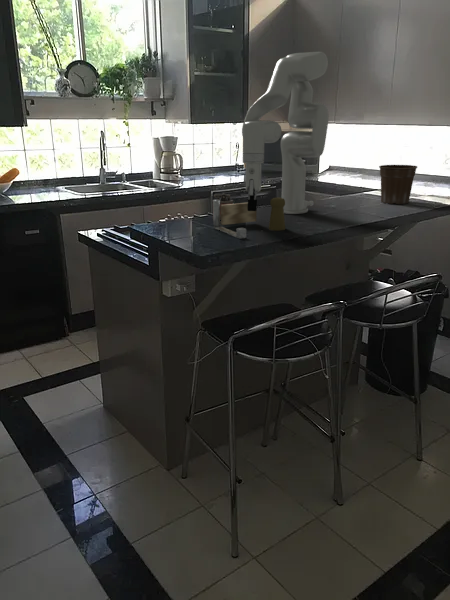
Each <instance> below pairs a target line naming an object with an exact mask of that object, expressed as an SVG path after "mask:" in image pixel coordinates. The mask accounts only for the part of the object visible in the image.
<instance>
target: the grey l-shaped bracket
mask: <svg viewBox="0 0 450 600" xmlns="http://www.w3.org/2000/svg"><path fill="white" fill-rule="evenodd" d="M212 200H213V203H212V221H213V229H214V230H217V231H219V230H220V232H222V233H224V234H227V235H229V236H232V237H235V238H236V239H247V228H244V227H238V228H236V229H235V230H236V231H234V230H231V229H228V228H226V227H223V226H222V225H221V221H220V200H221V199H219V200H217V199H212Z"/></svg>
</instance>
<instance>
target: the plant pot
mask: <svg viewBox="0 0 450 600" xmlns="http://www.w3.org/2000/svg"><path fill="white" fill-rule="evenodd" d="M378 167H379V174H380V202H381V203H382V202H383V204H386V203H389V204H388V205H393V204H396V205H406V204H409V203H410V198H411V192H412V187H413V183H414V178H415V175H416V172H417V169H418V165H411V164H382V165H379V166H378Z"/></svg>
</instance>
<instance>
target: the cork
mask: <svg viewBox="0 0 450 600" xmlns="http://www.w3.org/2000/svg"><path fill="white" fill-rule="evenodd" d="M269 202H270V207H271V210H270V217H269V223H268V230H270V231H275V232H276V231H279V232H281V231H285V230H286V222H285V213H284V209H283V207H284V206H285V200H284V199H283V198H282V197H279V196H278V197H273V198H271V199H270V201H269Z"/></svg>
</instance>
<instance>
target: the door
mask: <svg viewBox="0 0 450 600" xmlns="http://www.w3.org/2000/svg"><path fill="white" fill-rule="evenodd" d="M257 211H258V210H256V211H248V201H247V202H240V203H239V202H238V203H233V204H226V205H221V221H220V226H225V225H235V224H244V223H253V222H257Z"/></svg>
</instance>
